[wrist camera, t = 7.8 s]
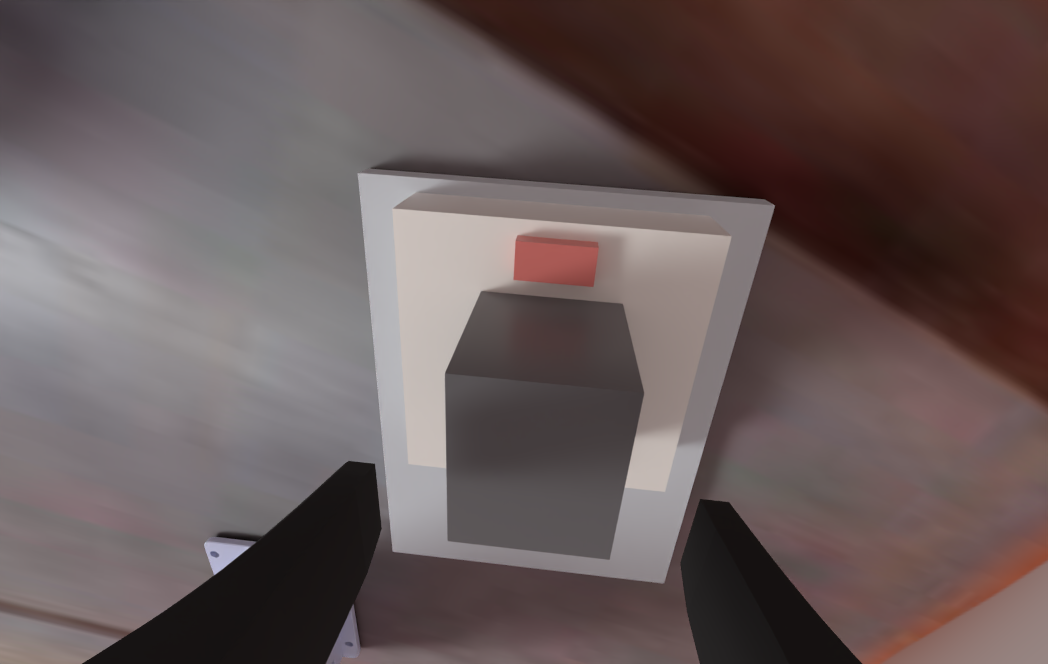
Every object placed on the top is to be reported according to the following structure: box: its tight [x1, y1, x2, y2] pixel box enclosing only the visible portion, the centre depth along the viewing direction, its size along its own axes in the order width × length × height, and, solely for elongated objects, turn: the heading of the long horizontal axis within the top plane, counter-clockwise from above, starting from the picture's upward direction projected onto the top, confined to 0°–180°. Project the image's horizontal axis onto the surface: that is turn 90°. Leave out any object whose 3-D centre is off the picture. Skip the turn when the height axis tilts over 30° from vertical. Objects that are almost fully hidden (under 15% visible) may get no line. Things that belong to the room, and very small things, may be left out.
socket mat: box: [358, 169, 775, 584], centre depth 21 cm, size 19×14×1 cm
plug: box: [445, 291, 644, 560], centre depth 15 cm, size 4×7×6 cm, turn 177°
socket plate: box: [392, 192, 732, 492], centre depth 17 cm, size 10×10×3 cm
